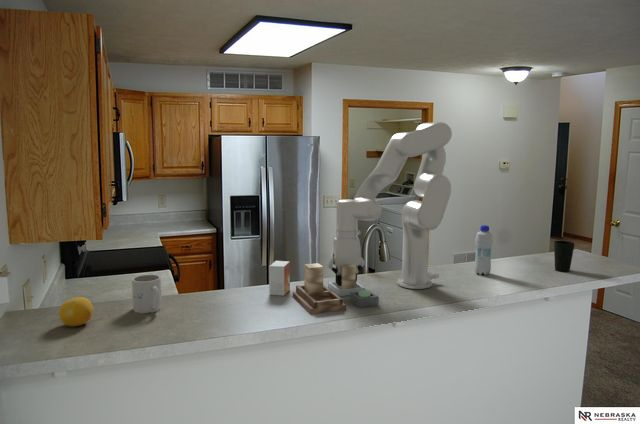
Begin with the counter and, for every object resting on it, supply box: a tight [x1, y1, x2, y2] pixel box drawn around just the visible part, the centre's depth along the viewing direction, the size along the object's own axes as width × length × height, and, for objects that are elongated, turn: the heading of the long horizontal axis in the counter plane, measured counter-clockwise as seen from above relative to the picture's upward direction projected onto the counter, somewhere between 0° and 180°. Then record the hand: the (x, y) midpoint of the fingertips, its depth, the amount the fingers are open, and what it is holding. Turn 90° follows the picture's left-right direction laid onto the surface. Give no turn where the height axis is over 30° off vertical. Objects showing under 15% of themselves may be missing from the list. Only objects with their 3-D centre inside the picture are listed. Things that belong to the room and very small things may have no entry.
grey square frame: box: [327, 281, 366, 297], centre depth 178 cm, size 10×11×2 cm
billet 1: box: [303, 262, 324, 293], centre depth 168 cm, size 5×5×10 cm
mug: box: [131, 274, 163, 314], centre depth 156 cm, size 12×9×10 cm
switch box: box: [349, 290, 380, 309], centre depth 164 cm, size 7×7×3 cm
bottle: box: [474, 224, 494, 276], centre depth 199 cm, size 7×7×20 cm
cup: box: [553, 240, 576, 273], centre depth 206 cm, size 8×8×12 cm
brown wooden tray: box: [292, 283, 347, 315], centre depth 164 cm, size 12×19×4 cm, turn 20°
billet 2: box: [337, 264, 357, 290], centre depth 177 cm, size 5×5×10 cm
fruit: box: [58, 296, 94, 327], centre depth 143 cm, size 9×8×8 cm
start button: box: [358, 289, 370, 297], centre depth 164 cm, size 4×4×3 cm
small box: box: [268, 260, 291, 297], centre depth 175 cm, size 8×6×10 cm
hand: (346, 283), depth 177 cm, fingers closed on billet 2, 5 cm apart
